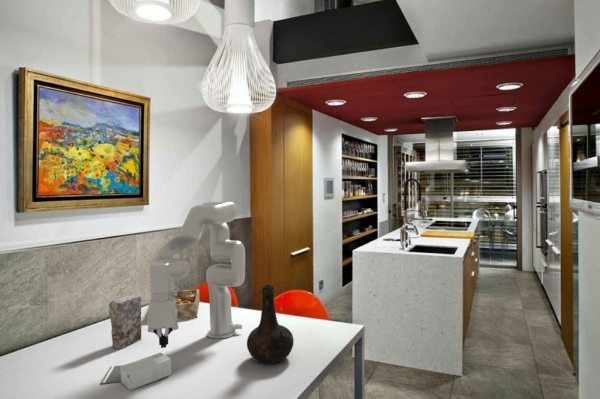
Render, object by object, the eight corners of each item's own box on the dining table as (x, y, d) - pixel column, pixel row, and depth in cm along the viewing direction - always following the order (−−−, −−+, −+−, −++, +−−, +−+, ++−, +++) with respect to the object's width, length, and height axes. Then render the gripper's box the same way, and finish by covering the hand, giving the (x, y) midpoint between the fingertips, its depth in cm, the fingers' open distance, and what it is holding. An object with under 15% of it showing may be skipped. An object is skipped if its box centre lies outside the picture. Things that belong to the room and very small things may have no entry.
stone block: (124, 350, 171) (122, 302, 171) (110, 349, 173) (108, 301, 172) (144, 338, 184) (142, 294, 183) (130, 338, 185) (128, 293, 185)
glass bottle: (276, 372, 144) (273, 293, 144) (237, 363, 154) (234, 288, 153) (303, 355, 159) (300, 283, 159) (266, 347, 169) (263, 279, 168)
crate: (199, 301, 245) (198, 289, 244) (197, 317, 213) (196, 302, 213) (160, 305, 240) (160, 292, 240) (152, 321, 209) (151, 306, 209)
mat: (161, 362, 157) (161, 360, 157) (155, 377, 143) (155, 376, 143) (110, 367, 154) (110, 366, 154) (100, 384, 140) (100, 383, 140)
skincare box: (162, 366, 150) (120, 382, 141) (161, 351, 150) (119, 365, 140) (172, 374, 144) (129, 392, 134) (171, 358, 144) (127, 374, 134)
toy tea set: (181, 316, 213) (181, 298, 213) (153, 315, 215) (153, 296, 215) (201, 303, 239) (201, 287, 239) (175, 302, 241) (176, 286, 241)
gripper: (184, 292, 154) (185, 341, 155) (142, 295, 152) (144, 345, 152) (182, 297, 147) (184, 348, 147) (138, 300, 144) (140, 352, 144)
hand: (163, 346), depth 150 cm, fingers closed
